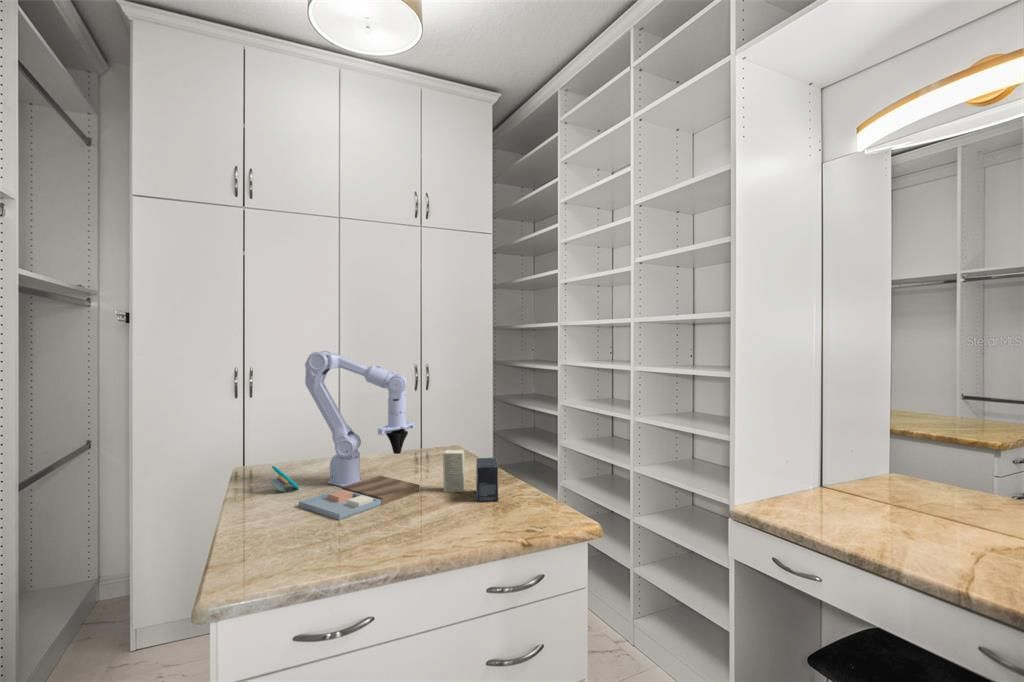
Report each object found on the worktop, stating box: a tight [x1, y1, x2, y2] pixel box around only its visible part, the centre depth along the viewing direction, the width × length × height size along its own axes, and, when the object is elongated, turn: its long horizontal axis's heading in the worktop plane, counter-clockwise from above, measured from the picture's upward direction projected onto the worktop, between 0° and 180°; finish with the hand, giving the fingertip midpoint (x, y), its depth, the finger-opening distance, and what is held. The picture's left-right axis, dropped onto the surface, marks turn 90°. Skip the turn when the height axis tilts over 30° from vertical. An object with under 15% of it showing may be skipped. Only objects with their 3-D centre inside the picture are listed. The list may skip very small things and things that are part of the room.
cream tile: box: [347, 495, 373, 508], centre depth 142 cm, size 5×5×2 cm
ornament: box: [269, 465, 300, 493], centre depth 155 cm, size 11×4×10 cm
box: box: [298, 488, 382, 521], centre depth 142 cm, size 18×14×2 cm
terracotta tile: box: [328, 490, 353, 502], centre depth 147 cm, size 5×5×2 cm
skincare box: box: [442, 449, 466, 493], centre depth 157 cm, size 6×4×12 cm
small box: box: [475, 457, 499, 503], centre depth 151 cm, size 11×6×10 cm, turn 5°
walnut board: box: [340, 475, 421, 506], centre depth 154 cm, size 18×15×2 cm
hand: (397, 453), depth 165 cm, fingers closed
